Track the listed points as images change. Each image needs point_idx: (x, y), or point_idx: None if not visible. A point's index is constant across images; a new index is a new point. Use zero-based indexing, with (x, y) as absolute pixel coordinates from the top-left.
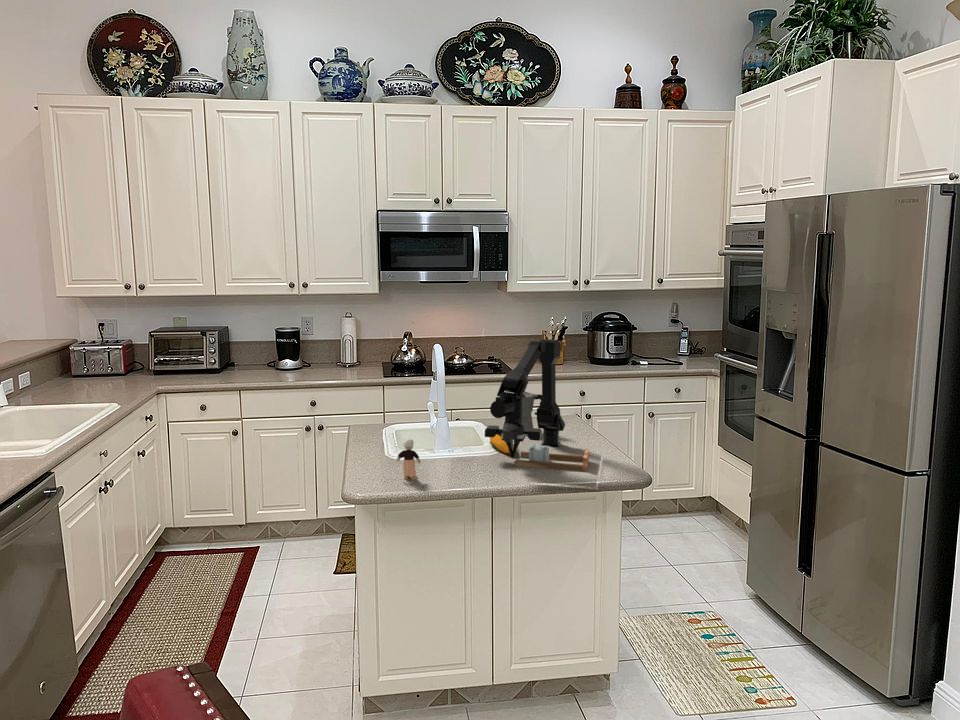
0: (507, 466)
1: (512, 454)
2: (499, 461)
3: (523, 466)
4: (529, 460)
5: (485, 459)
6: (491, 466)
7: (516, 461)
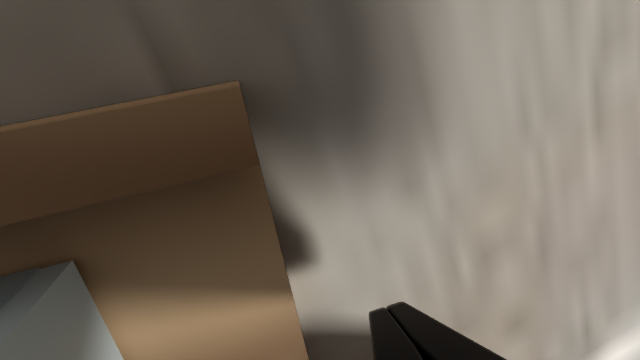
0: (373, 110)
1: (411, 336)
2: (501, 241)
3: (90, 109)
4: (23, 308)
5: (629, 227)
6: (558, 15)
7: (222, 90)
